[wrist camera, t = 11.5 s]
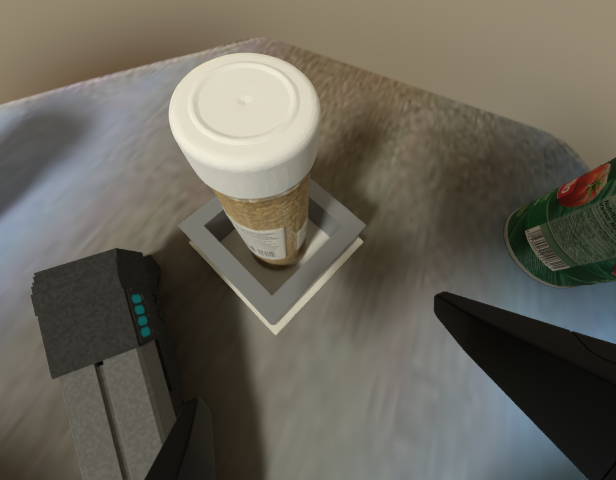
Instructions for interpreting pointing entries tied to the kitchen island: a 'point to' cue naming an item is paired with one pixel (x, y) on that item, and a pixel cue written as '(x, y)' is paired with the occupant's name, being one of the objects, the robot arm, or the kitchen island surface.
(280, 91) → the sprinkles bottle
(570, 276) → the canned tomato
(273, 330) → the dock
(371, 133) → the kitchen island surface
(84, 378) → the gun
